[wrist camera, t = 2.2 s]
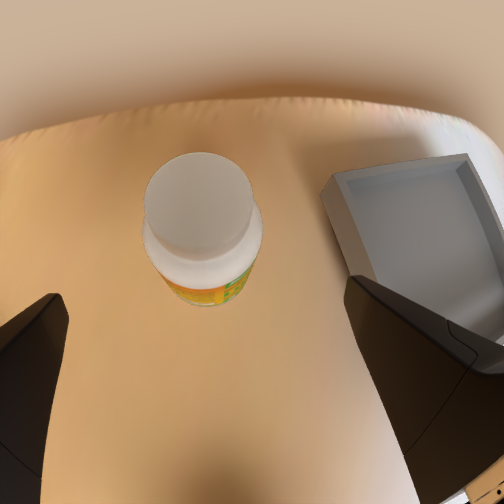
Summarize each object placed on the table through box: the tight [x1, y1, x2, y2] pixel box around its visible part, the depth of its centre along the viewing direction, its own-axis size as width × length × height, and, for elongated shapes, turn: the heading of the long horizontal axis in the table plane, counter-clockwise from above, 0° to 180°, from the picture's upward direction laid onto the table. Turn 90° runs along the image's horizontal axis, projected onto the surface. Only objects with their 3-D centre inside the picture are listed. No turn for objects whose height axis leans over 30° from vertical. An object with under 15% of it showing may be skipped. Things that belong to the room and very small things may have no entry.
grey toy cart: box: [320, 153, 504, 345], centre depth 18 cm, size 14×13×8 cm
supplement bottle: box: [142, 152, 263, 307], centre depth 16 cm, size 5×5×10 cm
